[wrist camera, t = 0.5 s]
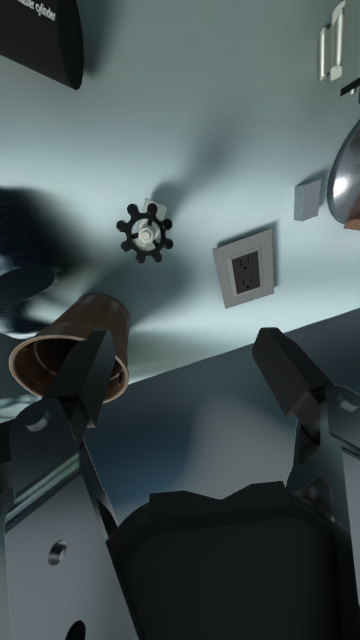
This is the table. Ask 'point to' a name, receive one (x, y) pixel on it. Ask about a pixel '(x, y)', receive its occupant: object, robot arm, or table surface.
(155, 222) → the valve
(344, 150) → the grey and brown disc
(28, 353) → the plant pot
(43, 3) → the circuit board with cylinder
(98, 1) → the table surface
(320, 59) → the pneumatic valve
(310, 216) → the grey rectangular block
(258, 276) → the electrical outlet
